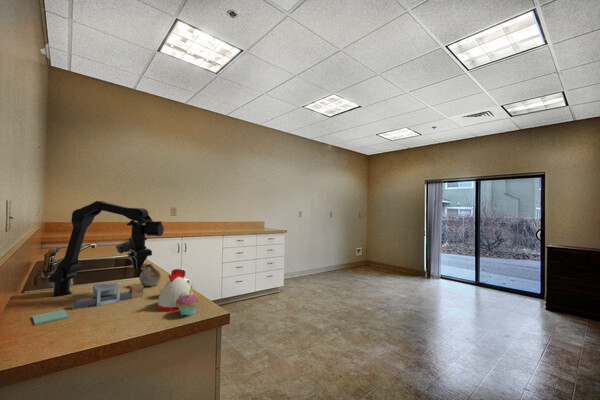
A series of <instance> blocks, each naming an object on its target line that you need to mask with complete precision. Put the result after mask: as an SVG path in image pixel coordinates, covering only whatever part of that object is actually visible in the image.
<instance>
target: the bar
mask: <svg viewBox="0 0 600 400" xmlns="http://www.w3.org/2000/svg"><path fill="white" fill-rule="evenodd" d="M116 294H117V292H115V294H110V295H104V296H100V302H102V301H107V300H112V299H116ZM131 298H132V293H131V292H130V291H129V290H128V291H123V292H120V301H119V302H123V301H127V300H132V299H131ZM96 302H97V297H92V296H91V297H85V298H80V299H75V300H71V309H72V310H77V309H85V308H89V307H94V306H96Z"/></svg>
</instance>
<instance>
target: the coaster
mask: <svg viewBox="0 0 600 400" xmlns="http://www.w3.org/2000/svg"><path fill="white" fill-rule="evenodd" d="M31 317H32V321H33V323H34V324H33V325H34V326H36V325H37V326H38V325H42V324H45V323H51V322H55V321H60V320H61V321H62V320H66V319H68V318H69V317H70V316H69V314H68V312H67V311H66V309H60V310H56V311H55V310H54V311H49V312H46V313H45V312H44V313H39V314H35V315H31Z"/></svg>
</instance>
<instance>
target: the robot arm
mask: <svg viewBox="0 0 600 400" xmlns="http://www.w3.org/2000/svg"><path fill="white" fill-rule="evenodd" d="M102 212H107V213H112V214H116V215H121V216H123V217H125V218H127V219H129V220H130V221H129V222H128V223H126V226H131V229H130V230H131V232H130V233H131V234H130V235H131V236H130V237H129V238H128V241H124V242H122V243H119V244H117V245H115V248H116V252H117V253H119V254H123V253H126V255H127V256H129V257H130V259H131V263H132V267H133V269H135V270H137V271H140V270H141V268H142V267H143V265H144V264H145V261H146V259H147V258H148V257H150V256H153V251H152V249H150V248H147V246H146V241H147V239H148V238H147V237H146V236H148V237H150V236H151V237H162V235H164V234H163V233H164V230H165V229H164V225H163V224H162V221H160V220H159V221H154V220H153V219H152V218H151V216H150V215H149V211H148V209H146V208H141V207H140V208H139V207H128V206H123V205H119V204H114V203H110V202H107V201H104V200H96V201H94V202H92V203H90V204H88V205H85V206H83V207H81V208H77V209H75V210H73V211H72V214H71V219H70V222H71V225H72V231H71V233H70V237H69V241H68V244H67V248H66V251H65V254H64V257H63V259H61V261H60V262H59V263H58V264H57V266H56V268H55V270H54V272H53V273H52V274H51V275H50V276H48V278H47V279H48V282H49V283H53V291H52V292H51V293H50V294H51V296H52V297H59V296H66V295H72V293H73V292H72V291H71V280H72V279H75V278H76V275H77V274H78V273H79V271H81V267H82V265H83V262H80V261H79V255H80V252H81V248H82V245H83V242H84V239H85V236H86V232H87V229H88V228H89V226H91V225H92V223H93V222H94V219H95V217H96V216H99V215H100V214H101V213H102Z"/></svg>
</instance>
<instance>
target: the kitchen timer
mask: <svg viewBox="0 0 600 400" xmlns="http://www.w3.org/2000/svg"><path fill="white" fill-rule="evenodd" d="M177 269H178V271H177V270H175V269H174V270H175V273H174V272H173V271H172V270H171V271H172V272H170V273H171V274H168V279H169V280H167V281H168V282H167V281H166V283H165V285H164V286H163V287H161V288H160V290H159V291H160V294H159V296H158V300H157V306H156V307H157V309H158V310H159V309H160V310H159V311H162V310H163V312H176V311H175V310H179V307H177V306H176V305H175V303H176V300H177V299H178V298H179V297H181V296H183V295H189V294H190V289H191V285H190V283H189V284H188V282H187V281H186V280H185V279H186V278H184V276H185V277H186V272H185V273H183V271H181V272H180V269H181V268H177ZM182 273H183V275H182ZM183 278H184V279H183ZM191 295H194V293H193V292H192V293H191ZM179 311H180V310H179Z"/></svg>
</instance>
